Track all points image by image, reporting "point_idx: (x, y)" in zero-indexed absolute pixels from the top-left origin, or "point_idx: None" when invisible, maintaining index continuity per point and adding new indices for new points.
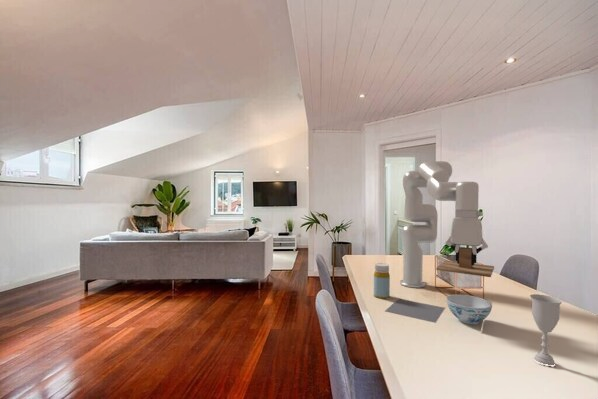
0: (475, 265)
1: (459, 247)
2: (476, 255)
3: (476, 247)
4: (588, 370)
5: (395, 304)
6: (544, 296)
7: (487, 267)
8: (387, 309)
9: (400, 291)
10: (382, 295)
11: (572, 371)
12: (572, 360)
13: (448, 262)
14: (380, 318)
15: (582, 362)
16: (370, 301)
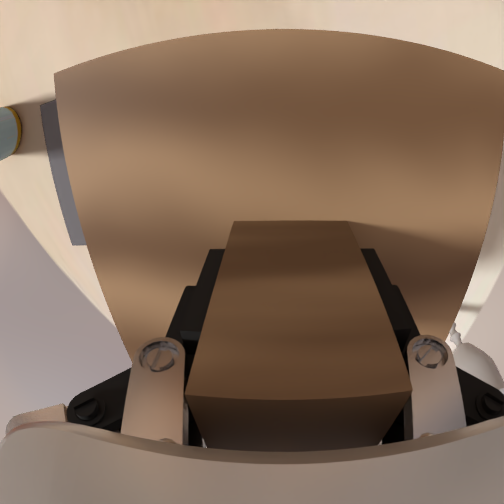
0: (371, 130)
1: (182, 417)
2: (419, 333)
3: (453, 428)
4: (488, 288)
5: (57, 169)
6: (500, 387)
7: (465, 174)
8: (68, 228)
9: (21, 24)
10: (9, 153)
11: (465, 307)
12: (485, 265)
13: (102, 157)
14: (94, 286)
15: (495, 263)
16: (12, 190)
